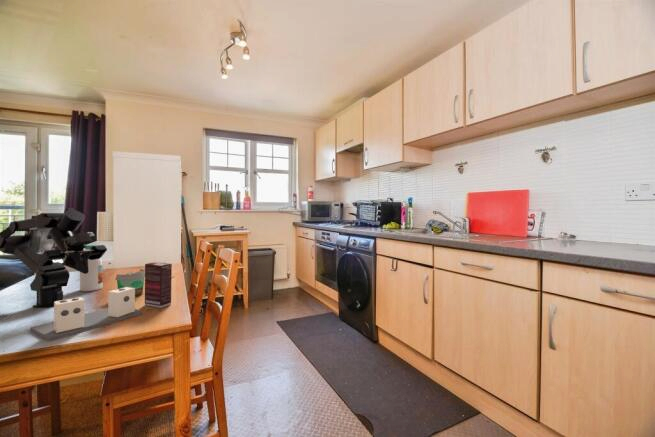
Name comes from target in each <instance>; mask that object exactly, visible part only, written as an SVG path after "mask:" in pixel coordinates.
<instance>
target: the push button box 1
mask: <svg viewBox="0 0 655 437" xmlns="http://www.w3.org/2000/svg"><path fill="white" fill-rule="evenodd" d="M107 294H108V295H107V298H108V299H107V301H108V302H107V304H108V305H107V308H108V316H112V317H120V316H123V315H125V314H128V313H131V312H134V311H135V309H136V306H135V305H136V303H135V302H136V301H135V300H136V299H135V298H136V297H135V288H129V287H124V288H120V289H118V288H117V289H113V290H108V293H107Z"/></svg>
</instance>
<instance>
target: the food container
mask: <svg viewBox="0 0 655 437" xmlns="http://www.w3.org/2000/svg"><path fill="white" fill-rule="evenodd" d="M115 281H116V282H117V283H116V284H117V285H116V286H117V289H120V288H124V287H129V288H135V298H138V297H140V296H143V294H144V286H145V269H140V270H139V271H136V272H129V273H128V272H127V273H125V274H116V276H115Z"/></svg>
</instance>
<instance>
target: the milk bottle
mask: <svg viewBox="0 0 655 437" xmlns="http://www.w3.org/2000/svg"><path fill="white" fill-rule="evenodd" d="M86 245H87V247H86V248H84V250H90V248H91V247H92V246H96V245H97V244H86ZM103 268H104V267H103V261H102V257H101V258H100V259H96V260H89V259H88V270H89V272H88V273H87V274H84V273H82V272H79V290H80V291H81V292H93V291H99V290H101V289H102V288H103Z"/></svg>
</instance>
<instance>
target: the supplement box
mask: <svg viewBox="0 0 655 437" xmlns="http://www.w3.org/2000/svg"><path fill="white" fill-rule="evenodd" d="M172 266H173V265H172V263H165V262H156V261H155V262H150V263H145V264H144V270H145V277H144V306H147V307H152V308H153V307H154V308H158V309H160V308H161V309H162V308H166V307H168V306H171V305H172Z"/></svg>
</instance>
